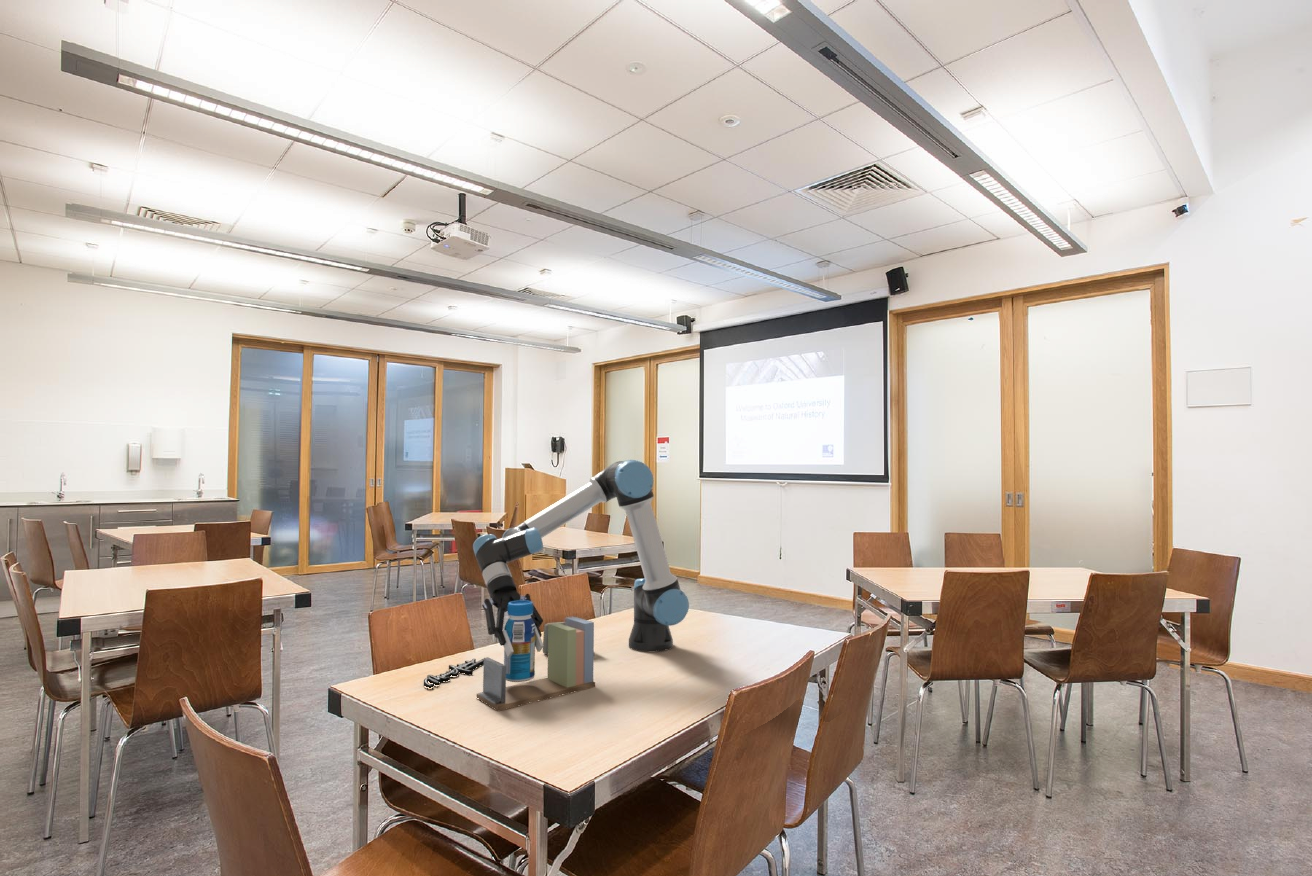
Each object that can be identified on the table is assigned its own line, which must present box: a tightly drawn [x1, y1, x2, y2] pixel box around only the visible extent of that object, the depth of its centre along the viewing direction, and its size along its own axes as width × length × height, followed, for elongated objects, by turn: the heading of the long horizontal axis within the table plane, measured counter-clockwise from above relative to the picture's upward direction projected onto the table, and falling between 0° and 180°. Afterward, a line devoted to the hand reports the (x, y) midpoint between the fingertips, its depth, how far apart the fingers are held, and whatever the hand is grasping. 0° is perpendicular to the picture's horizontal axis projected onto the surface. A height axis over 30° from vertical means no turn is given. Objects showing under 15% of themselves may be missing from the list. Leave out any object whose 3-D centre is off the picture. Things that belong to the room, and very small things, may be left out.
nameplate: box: [423, 658, 484, 688], centre depth 186 cm, size 27×2×10 cm
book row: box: [547, 616, 595, 688], centre depth 178 cm, size 8×10×16 cm
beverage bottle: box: [503, 600, 536, 683], centre depth 172 cm, size 8×8×20 cm
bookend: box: [478, 656, 507, 704], centre depth 163 cm, size 2×10×9 cm, turn 40°
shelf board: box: [476, 677, 596, 711], centre depth 171 cm, size 29×12×1 cm, turn 130°
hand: (525, 651), depth 170 cm, fingers closed on beverage bottle, 8 cm apart
